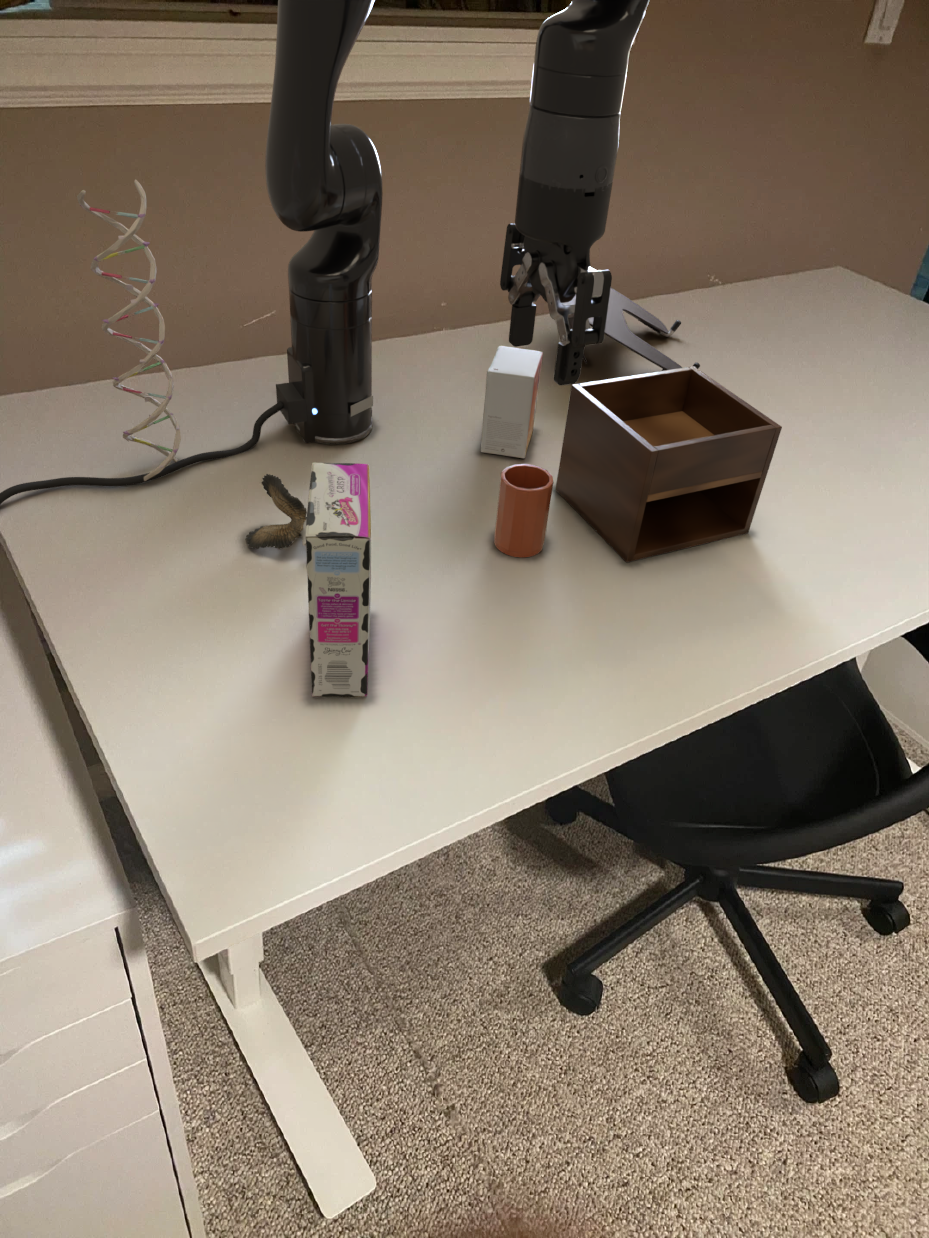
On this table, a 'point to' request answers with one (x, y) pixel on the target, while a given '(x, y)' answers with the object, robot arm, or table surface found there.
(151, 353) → the dna model
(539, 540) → the cup
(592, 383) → the box
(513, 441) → the small box
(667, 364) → the laptop tray
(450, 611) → the table surface
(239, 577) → the table surface
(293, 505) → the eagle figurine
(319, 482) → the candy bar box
